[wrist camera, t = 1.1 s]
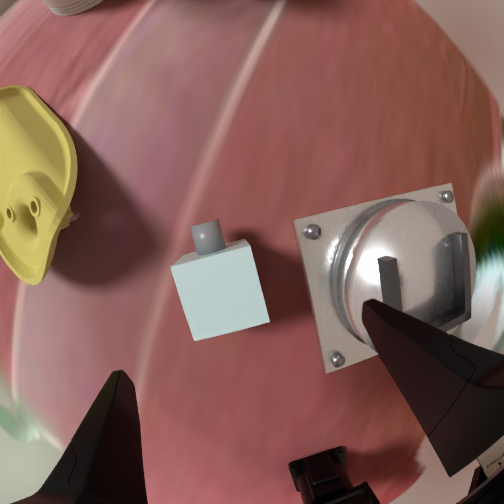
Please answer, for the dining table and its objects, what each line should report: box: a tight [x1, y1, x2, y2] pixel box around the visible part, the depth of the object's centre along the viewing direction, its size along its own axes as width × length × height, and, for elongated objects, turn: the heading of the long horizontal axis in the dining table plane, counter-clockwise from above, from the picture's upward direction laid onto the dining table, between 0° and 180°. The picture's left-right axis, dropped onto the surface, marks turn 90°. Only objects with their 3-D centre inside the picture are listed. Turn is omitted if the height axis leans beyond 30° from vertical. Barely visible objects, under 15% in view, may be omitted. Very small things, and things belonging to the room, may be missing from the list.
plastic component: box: [0, 85, 77, 285], centre depth 20 cm, size 20×7×10 cm
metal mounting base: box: [291, 183, 476, 374], centre depth 22 cm, size 14×17×6 cm
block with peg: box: [171, 219, 270, 341], centre depth 21 cm, size 7×5×6 cm
